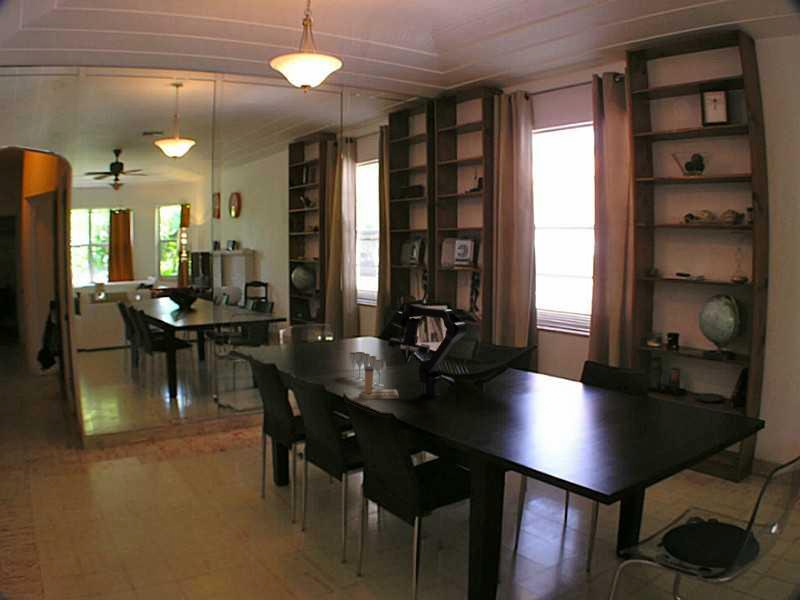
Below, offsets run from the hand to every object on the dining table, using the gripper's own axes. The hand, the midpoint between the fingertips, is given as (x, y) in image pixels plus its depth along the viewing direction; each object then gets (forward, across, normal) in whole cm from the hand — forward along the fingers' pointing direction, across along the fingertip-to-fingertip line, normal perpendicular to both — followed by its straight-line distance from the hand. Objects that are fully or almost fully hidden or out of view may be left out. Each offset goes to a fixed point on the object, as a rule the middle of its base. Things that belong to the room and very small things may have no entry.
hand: (406, 363), depth 281 cm
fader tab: (+11, +12, +18) cm, 24 cm away
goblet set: (+17, +21, -10) cm, 28 cm away
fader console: (+12, +7, +16) cm, 21 cm away
